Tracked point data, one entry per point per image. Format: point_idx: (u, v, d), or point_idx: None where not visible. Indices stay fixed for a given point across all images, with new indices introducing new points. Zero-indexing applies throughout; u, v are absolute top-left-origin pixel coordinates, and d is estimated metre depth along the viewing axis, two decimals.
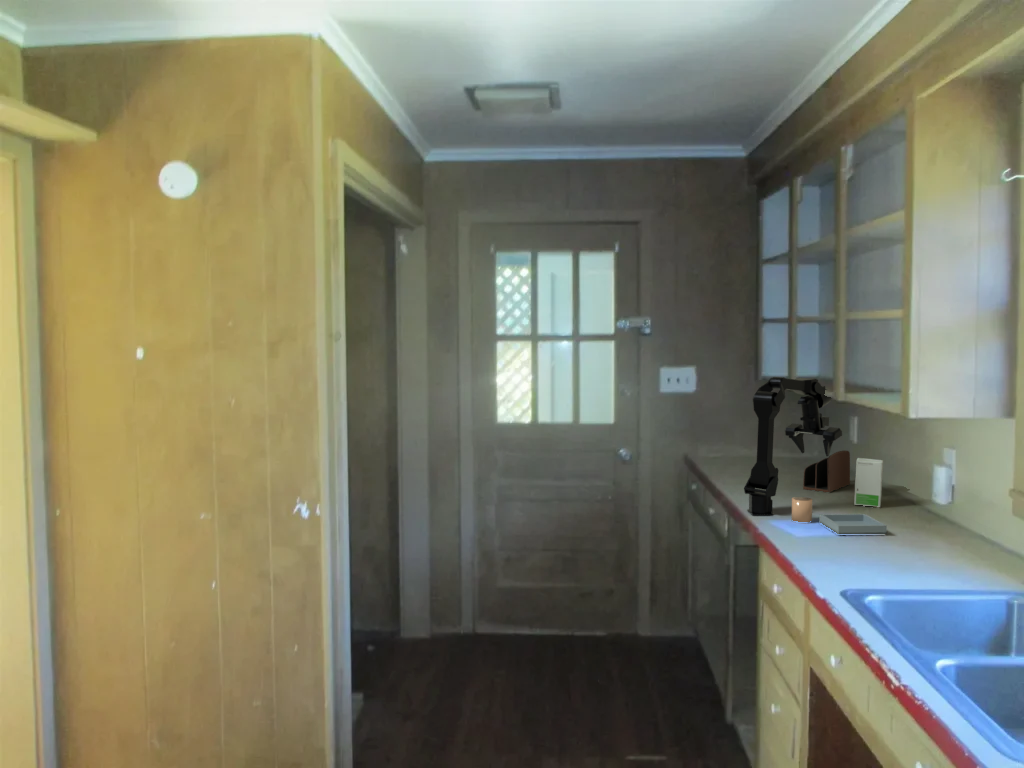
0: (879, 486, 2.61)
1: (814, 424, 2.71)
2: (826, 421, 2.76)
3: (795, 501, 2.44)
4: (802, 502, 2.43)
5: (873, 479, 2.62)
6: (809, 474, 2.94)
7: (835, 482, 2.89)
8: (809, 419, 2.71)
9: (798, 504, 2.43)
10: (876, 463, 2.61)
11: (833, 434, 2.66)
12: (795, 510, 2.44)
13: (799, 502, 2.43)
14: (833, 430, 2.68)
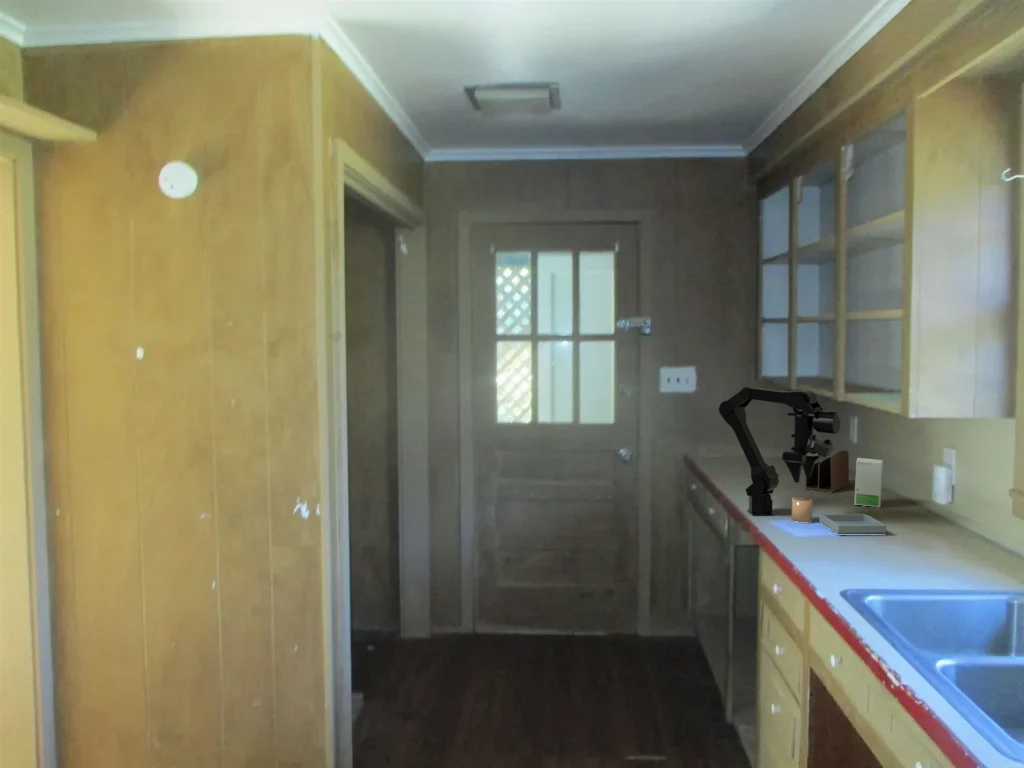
0: (879, 486, 2.61)
1: (794, 441, 2.44)
2: (818, 449, 2.39)
3: (795, 501, 2.44)
4: (802, 502, 2.43)
5: (873, 479, 2.62)
6: (811, 475, 2.93)
7: (837, 482, 2.89)
8: None
9: (798, 504, 2.43)
10: (876, 463, 2.61)
11: (783, 453, 2.39)
12: (795, 510, 2.44)
13: (799, 502, 2.43)
14: (791, 451, 2.39)
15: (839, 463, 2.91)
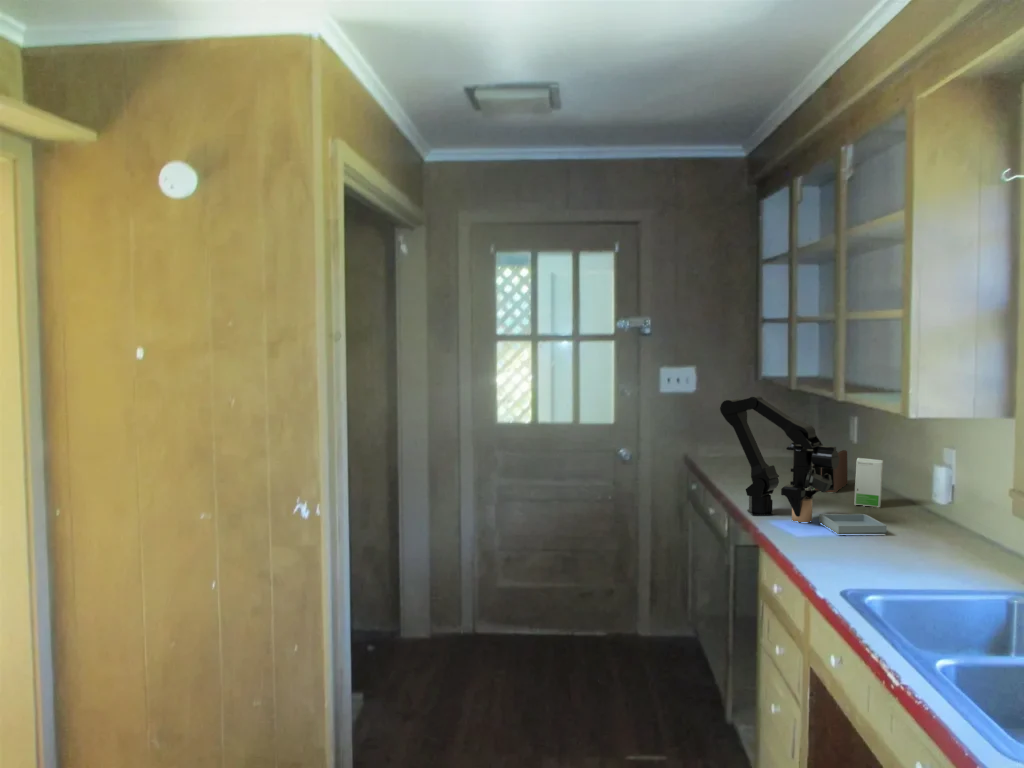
0: (879, 486, 2.61)
1: (793, 476, 2.44)
2: (817, 484, 2.39)
3: None
4: (802, 502, 2.43)
5: (873, 479, 2.62)
6: None
7: (838, 482, 2.89)
8: None
9: None
10: (876, 463, 2.61)
11: (782, 488, 2.40)
12: None
13: None
14: (790, 486, 2.39)
15: (840, 463, 2.91)
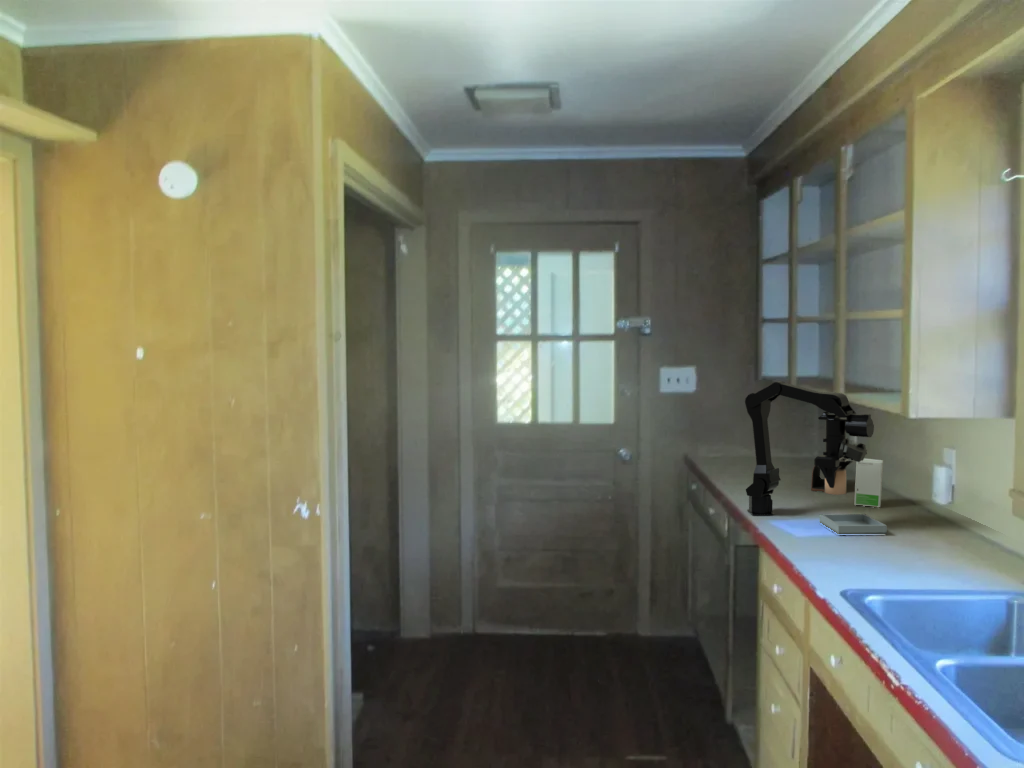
0: (879, 486, 2.61)
1: (826, 446, 2.37)
2: (852, 453, 2.32)
3: None
4: (836, 473, 2.35)
5: (873, 479, 2.62)
6: (814, 475, 2.92)
7: None
8: None
9: None
10: (876, 463, 2.61)
11: (816, 458, 2.32)
12: None
13: None
14: (823, 456, 2.31)
15: None
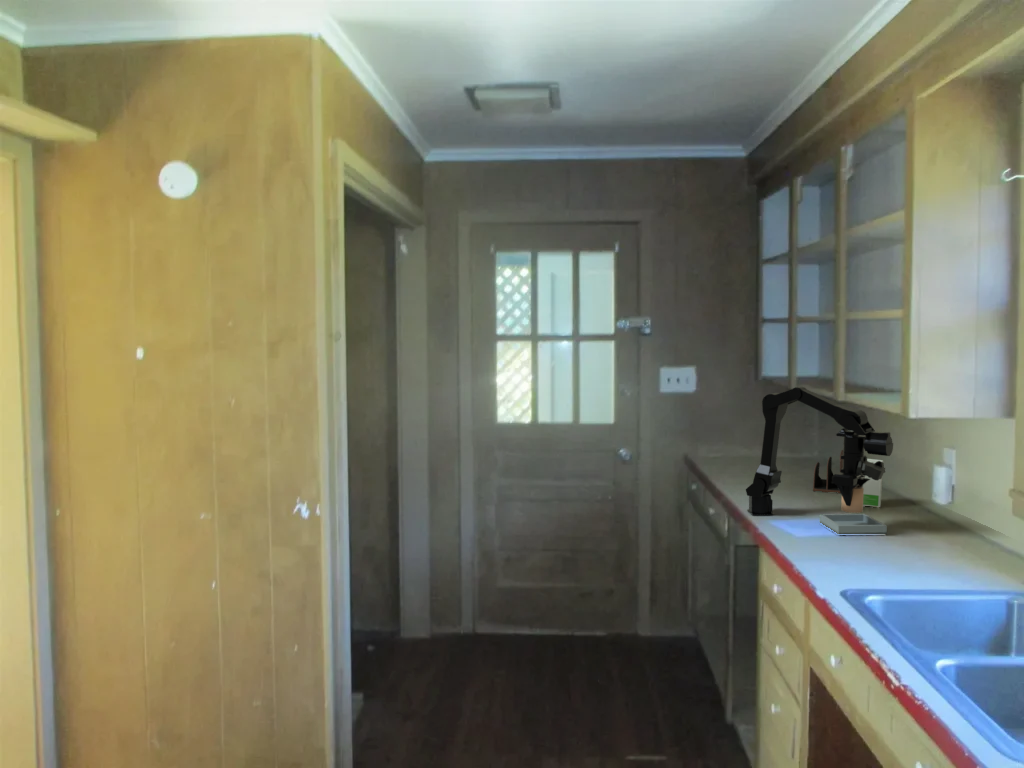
0: (879, 486, 2.61)
1: (844, 463, 2.33)
2: (870, 472, 2.28)
3: None
4: None
5: None
6: (816, 476, 2.91)
7: None
8: None
9: None
10: None
11: (833, 476, 2.29)
12: None
13: None
14: (841, 474, 2.28)
15: (842, 463, 2.91)
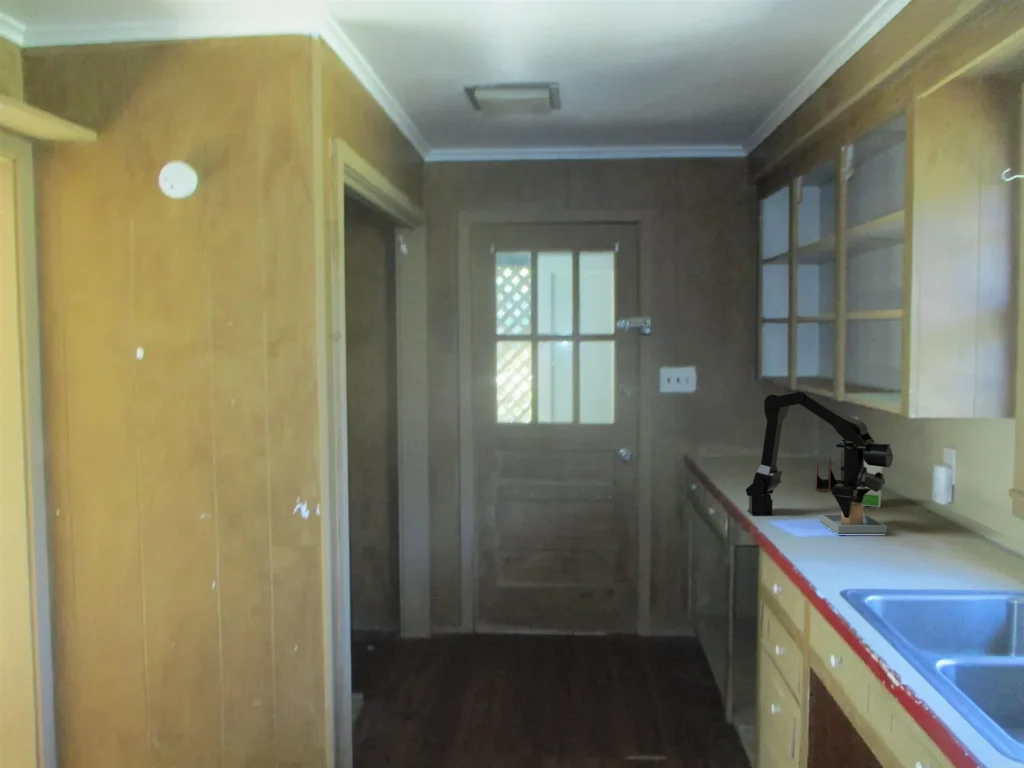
0: None
1: (844, 474, 2.33)
2: (870, 483, 2.28)
3: None
4: (853, 507, 2.32)
5: None
6: None
7: None
8: None
9: None
10: None
11: (833, 487, 2.29)
12: None
13: None
14: (841, 485, 2.28)
15: None
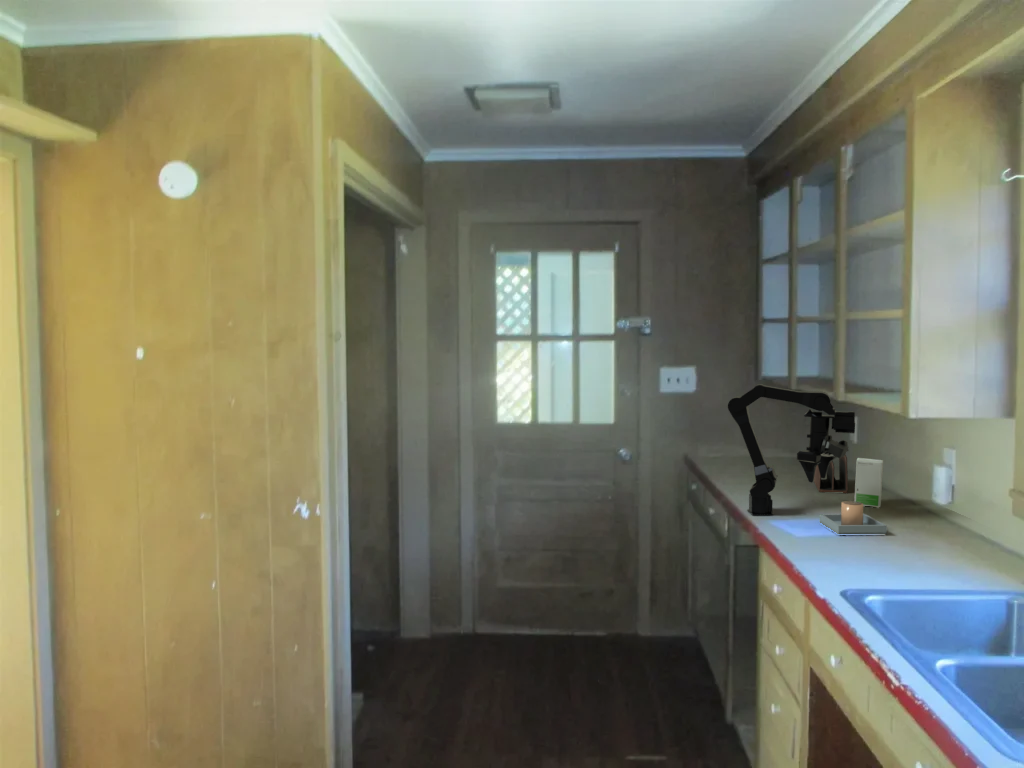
0: (879, 486, 2.61)
1: (810, 441, 2.47)
2: (833, 450, 2.42)
3: (845, 505, 2.33)
4: (853, 507, 2.32)
5: (873, 479, 2.62)
6: None
7: None
8: None
9: (849, 509, 2.32)
10: (876, 463, 2.61)
11: (798, 453, 2.43)
12: (845, 515, 2.33)
13: (850, 507, 2.32)
14: (806, 451, 2.42)
15: None
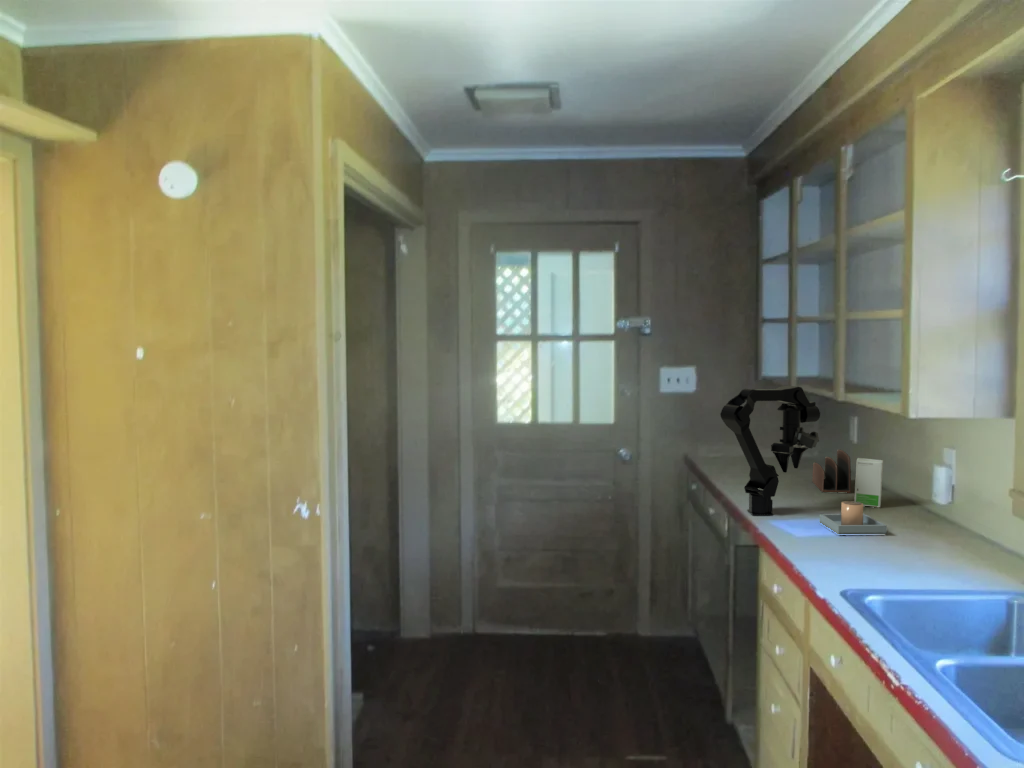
0: (879, 486, 2.61)
1: (783, 433, 2.60)
2: (805, 441, 2.55)
3: (845, 505, 2.33)
4: (853, 507, 2.32)
5: (873, 479, 2.62)
6: None
7: None
8: None
9: (849, 509, 2.32)
10: (876, 463, 2.61)
11: (772, 444, 2.55)
12: (845, 515, 2.33)
13: (850, 507, 2.32)
14: (779, 443, 2.55)
15: None
